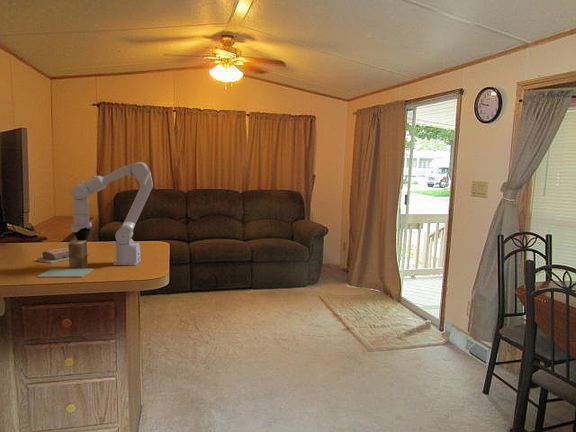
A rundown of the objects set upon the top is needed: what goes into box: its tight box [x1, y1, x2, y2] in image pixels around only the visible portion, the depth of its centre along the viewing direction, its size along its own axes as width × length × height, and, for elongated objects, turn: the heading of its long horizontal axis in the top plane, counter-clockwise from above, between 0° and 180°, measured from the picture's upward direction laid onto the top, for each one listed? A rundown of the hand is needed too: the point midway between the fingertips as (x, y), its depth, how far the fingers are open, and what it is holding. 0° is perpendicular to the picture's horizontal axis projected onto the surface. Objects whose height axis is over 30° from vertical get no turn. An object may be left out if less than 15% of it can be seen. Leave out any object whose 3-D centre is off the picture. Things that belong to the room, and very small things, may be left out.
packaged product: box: [36, 246, 89, 264], centre depth 181 cm, size 18×5×10 cm
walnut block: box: [67, 239, 89, 269], centre depth 164 cm, size 5×5×11 cm
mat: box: [36, 268, 94, 279], centre depth 156 cm, size 16×11×1 cm
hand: (82, 246), depth 168 cm, fingers closed
